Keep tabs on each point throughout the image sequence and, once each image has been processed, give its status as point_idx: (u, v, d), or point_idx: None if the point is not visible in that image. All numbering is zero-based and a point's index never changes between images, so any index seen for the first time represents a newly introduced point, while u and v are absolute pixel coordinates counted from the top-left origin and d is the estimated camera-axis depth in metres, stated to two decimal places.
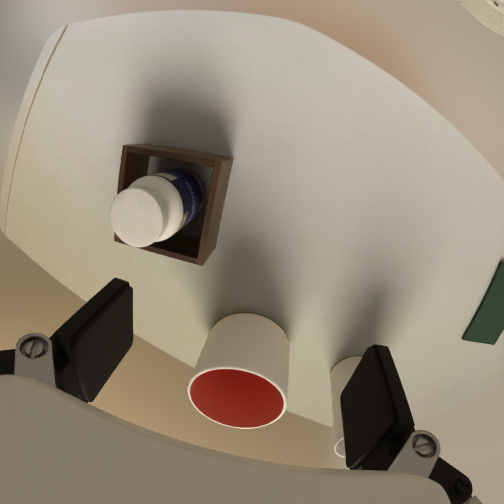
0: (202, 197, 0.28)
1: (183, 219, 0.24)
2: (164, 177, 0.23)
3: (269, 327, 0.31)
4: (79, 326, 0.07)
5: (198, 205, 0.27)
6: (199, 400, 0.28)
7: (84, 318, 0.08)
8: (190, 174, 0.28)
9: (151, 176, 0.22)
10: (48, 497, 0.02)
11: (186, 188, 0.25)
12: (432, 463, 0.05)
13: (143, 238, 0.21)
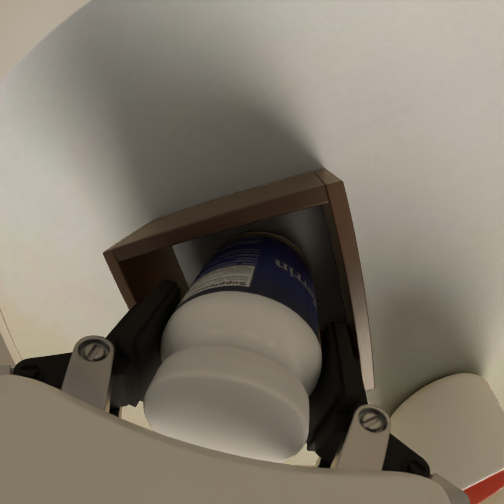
0: (308, 267, 0.14)
1: (321, 349, 0.10)
2: (230, 286, 0.09)
3: (470, 387, 0.14)
4: (141, 327, 0.08)
5: (313, 288, 0.13)
6: None
7: (143, 319, 0.08)
8: (264, 237, 0.14)
9: (198, 301, 0.09)
10: (48, 497, 0.02)
11: (287, 277, 0.11)
12: (386, 436, 0.06)
13: (267, 456, 0.07)
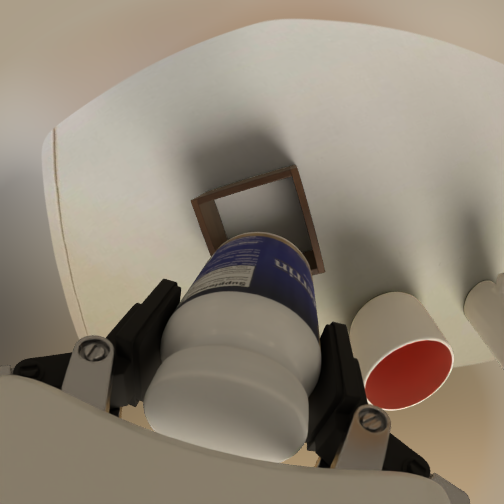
0: (308, 267, 0.14)
1: None
2: (230, 286, 0.09)
3: (402, 297, 0.28)
4: (141, 327, 0.08)
5: (313, 288, 0.13)
6: (374, 398, 0.26)
7: (143, 319, 0.08)
8: (264, 237, 0.14)
9: (198, 301, 0.09)
10: (48, 497, 0.02)
11: (286, 277, 0.11)
12: (386, 436, 0.06)
13: (267, 455, 0.07)
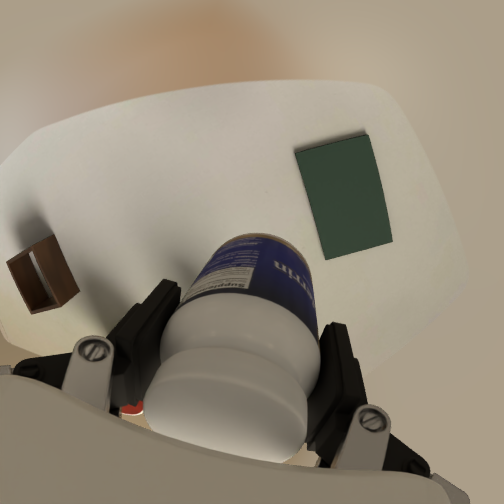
0: (307, 268, 0.14)
1: None
2: (229, 288, 0.09)
3: None
4: (141, 327, 0.08)
5: (312, 289, 0.13)
6: None
7: (143, 319, 0.08)
8: (264, 238, 0.14)
9: (197, 303, 0.09)
10: (48, 497, 0.02)
11: (285, 279, 0.11)
12: (386, 436, 0.06)
13: (266, 456, 0.07)
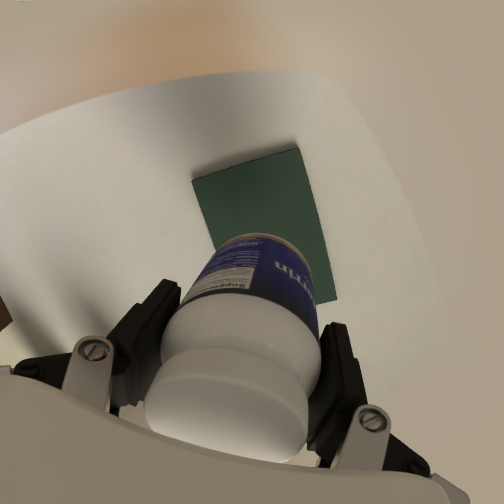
0: (308, 268, 0.14)
1: (320, 351, 0.10)
2: (230, 288, 0.09)
3: None
4: (141, 327, 0.08)
5: (313, 289, 0.13)
6: None
7: (143, 319, 0.08)
8: (264, 239, 0.14)
9: (198, 304, 0.09)
10: (48, 497, 0.02)
11: (286, 279, 0.11)
12: (386, 436, 0.06)
13: (267, 457, 0.07)
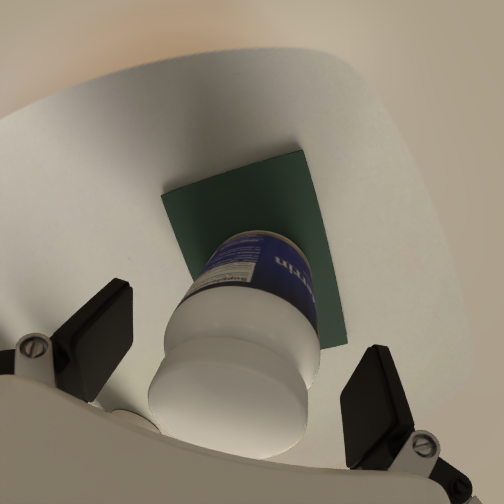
0: (307, 264, 0.14)
1: None
2: (232, 281, 0.09)
3: None
4: (79, 326, 0.07)
5: (312, 285, 0.14)
6: None
7: (84, 318, 0.08)
8: (265, 235, 0.14)
9: (201, 296, 0.09)
10: (48, 497, 0.02)
11: (286, 274, 0.11)
12: (432, 463, 0.05)
13: (268, 446, 0.07)
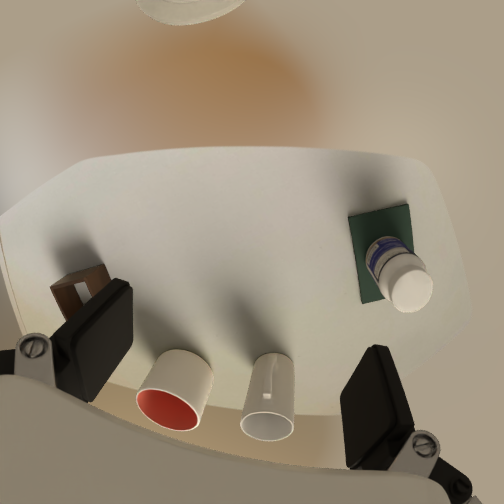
0: None
1: None
2: (405, 252, 0.27)
3: (178, 356, 0.41)
4: (79, 326, 0.07)
5: None
6: (157, 417, 0.39)
7: (84, 318, 0.08)
8: (395, 238, 0.32)
9: (399, 256, 0.27)
10: (48, 497, 0.02)
11: (412, 251, 0.29)
12: (432, 463, 0.05)
13: (421, 302, 0.25)
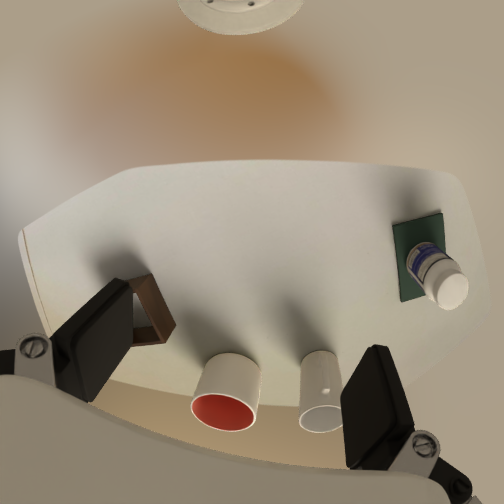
0: None
1: None
2: (445, 257, 0.29)
3: (230, 359, 0.44)
4: (79, 326, 0.07)
5: None
6: (209, 420, 0.41)
7: (84, 318, 0.08)
8: (432, 244, 0.34)
9: (440, 261, 0.29)
10: (48, 497, 0.02)
11: None
12: (432, 463, 0.05)
13: (459, 300, 0.27)
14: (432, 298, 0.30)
